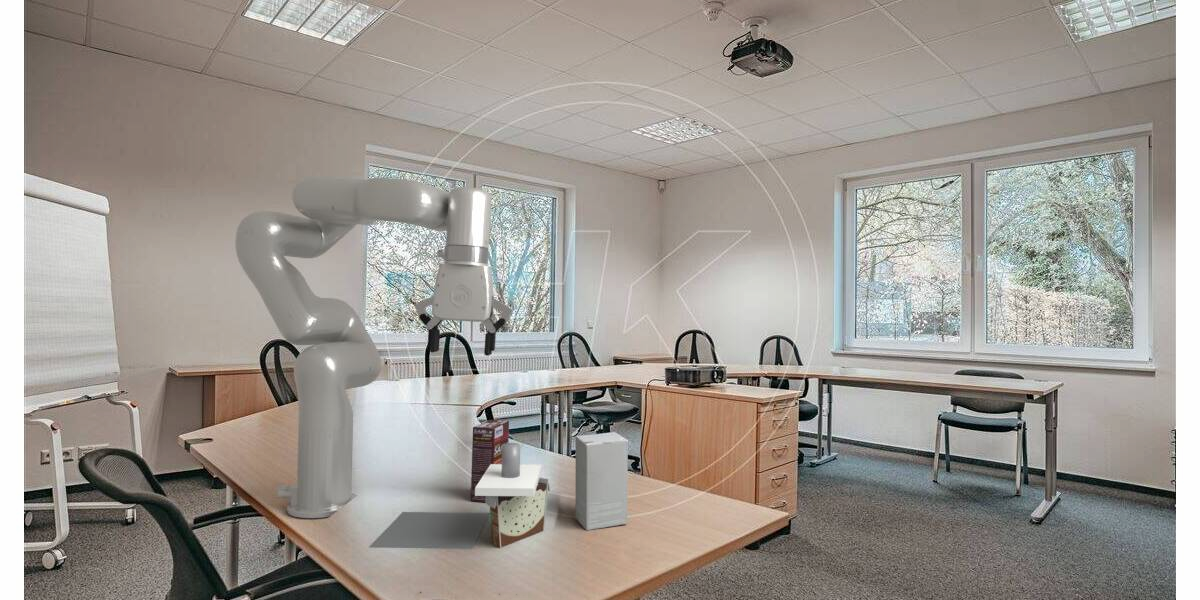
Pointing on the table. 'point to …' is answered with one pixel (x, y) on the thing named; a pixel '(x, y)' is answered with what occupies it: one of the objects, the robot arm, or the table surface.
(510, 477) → the lid
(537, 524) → the food container
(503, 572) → the table surface
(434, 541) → the mat
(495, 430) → the supplement box
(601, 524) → the skincare box
